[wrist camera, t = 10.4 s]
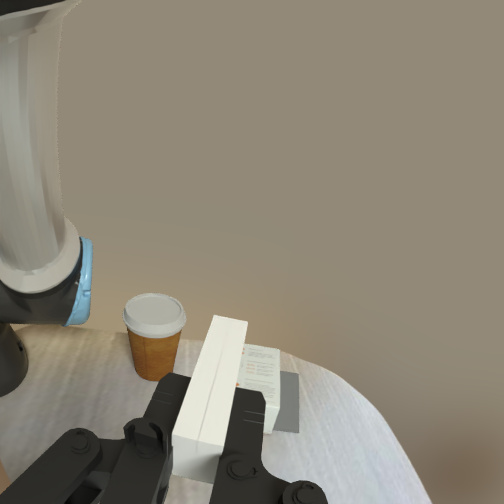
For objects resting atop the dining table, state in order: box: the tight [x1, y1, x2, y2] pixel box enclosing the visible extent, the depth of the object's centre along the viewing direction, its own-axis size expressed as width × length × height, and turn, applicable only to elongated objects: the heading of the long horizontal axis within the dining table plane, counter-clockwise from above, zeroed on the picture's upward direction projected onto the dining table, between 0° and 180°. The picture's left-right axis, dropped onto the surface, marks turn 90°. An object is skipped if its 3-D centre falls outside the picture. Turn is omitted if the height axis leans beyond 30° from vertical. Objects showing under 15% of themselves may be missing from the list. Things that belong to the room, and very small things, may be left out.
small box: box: [236, 344, 280, 434], centre depth 45 cm, size 8×6×13 cm
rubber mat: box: [273, 371, 299, 433], centre depth 48 cm, size 16×14×1 cm
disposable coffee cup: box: [123, 293, 186, 381], centre depth 47 cm, size 10×10×12 cm
